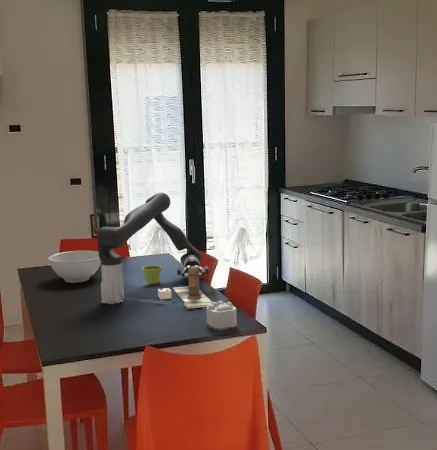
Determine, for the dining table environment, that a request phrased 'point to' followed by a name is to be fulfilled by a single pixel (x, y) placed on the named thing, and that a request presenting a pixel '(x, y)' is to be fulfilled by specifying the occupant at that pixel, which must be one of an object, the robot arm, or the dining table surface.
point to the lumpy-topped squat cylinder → (221, 314)
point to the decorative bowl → (75, 265)
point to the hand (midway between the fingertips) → (193, 274)
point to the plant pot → (152, 274)
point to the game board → (192, 303)
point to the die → (164, 294)
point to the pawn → (193, 283)
